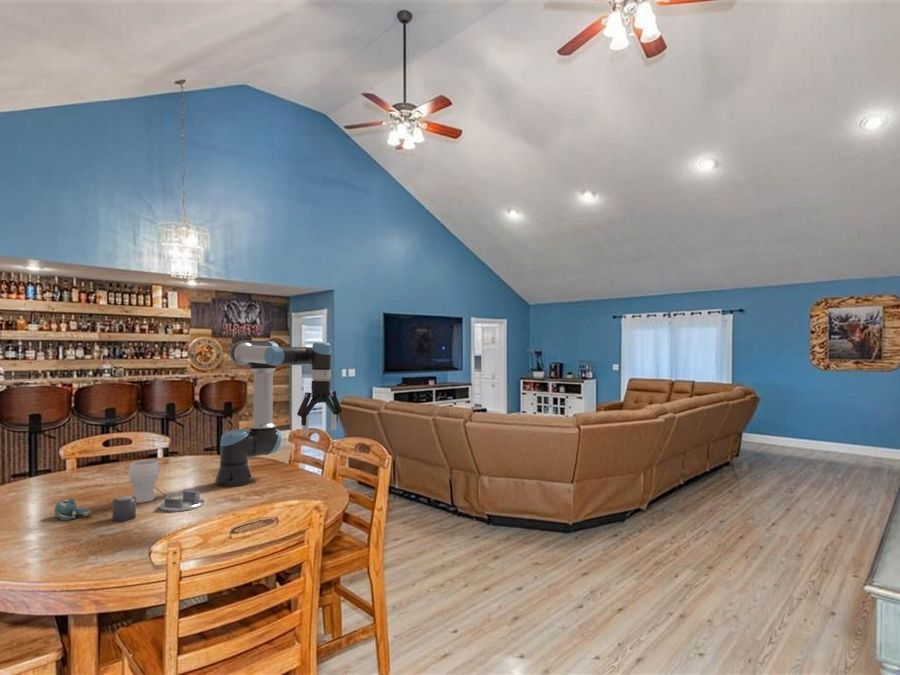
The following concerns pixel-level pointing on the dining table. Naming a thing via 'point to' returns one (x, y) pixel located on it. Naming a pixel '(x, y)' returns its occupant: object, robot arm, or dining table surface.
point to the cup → (143, 479)
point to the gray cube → (124, 508)
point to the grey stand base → (182, 502)
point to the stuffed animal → (70, 510)
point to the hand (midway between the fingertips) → (319, 431)
